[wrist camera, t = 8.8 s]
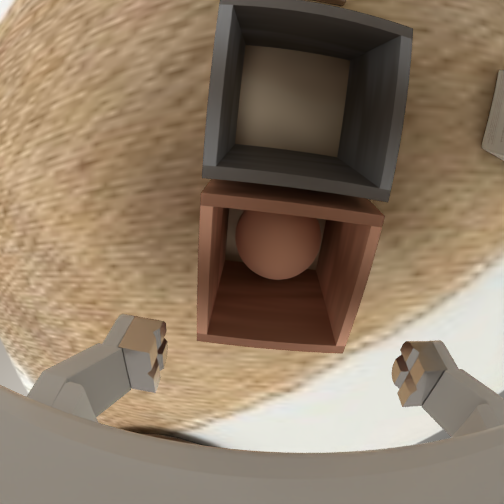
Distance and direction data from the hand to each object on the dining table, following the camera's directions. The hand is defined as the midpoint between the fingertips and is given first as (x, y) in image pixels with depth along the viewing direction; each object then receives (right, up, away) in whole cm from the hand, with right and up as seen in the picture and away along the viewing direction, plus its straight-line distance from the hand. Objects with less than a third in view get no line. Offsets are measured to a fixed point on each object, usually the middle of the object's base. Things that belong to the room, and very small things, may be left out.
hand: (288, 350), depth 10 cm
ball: (0, +4, +9) cm, 10 cm away
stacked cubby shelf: (+1, +9, +10) cm, 14 cm away
